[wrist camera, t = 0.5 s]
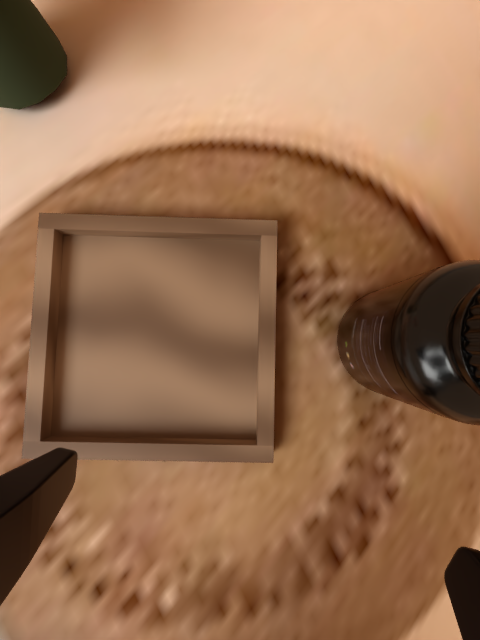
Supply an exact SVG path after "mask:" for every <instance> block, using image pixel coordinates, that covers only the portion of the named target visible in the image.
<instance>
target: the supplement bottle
mask: <svg viewBox="0 0 480 640" xmlns="http://www.w3.org/2000/svg"><path fill="white" fill-rule="evenodd" d="M337 344H338V351H339V355H340V358H341V361H342V363H343V365H344V367H345V368H346V370H347V371H348V373H349V374H350V375H351V376H352V377H353V378H354V379H355V380H356V381H357V382H358V383H360V384H361V385H363V386H364V387H366V388H368V389H370V390H372V391H375V392H377V393H380V394H382V395H385V396H388V397H391V398H393V399H396V400H399V401H402V402H404V403H407V404H410V405H413V406H415V407H418V408H421V409H423V410H426V411H429V412H432V413H434V414H437V415H440V416H443V417H446V418H449V419H452V420H455V421H458V422H462V423H467V424H472V425H480V260H467V261H460V262H455V263H452V264H448V265H445V266H441V267H439V268H436V269H433V270H431V271H428V272H425V273H423V274H420V275H417V276H415V277H412V278H409V279H407V280H404V281H401V282H399V283H396V284H393V285H391V286H388V287H385V288H383V289H380V290H377V291H375V292H372V293H370V294H368V295H366V296H364V297H362V298H360V299H359V300H357V301H356V302H355V303H354V304H353V305H352V306H351V307H350V308H349V309H348V310H347V312H346V313H345V315H344V316H343V318H342V321H341V323H340V326H339V330H338V336H337Z"/></svg>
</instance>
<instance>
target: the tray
mask: <svg viewBox="0 0 480 640" xmlns="http://www.w3.org/2000/svg"><path fill="white" fill-rule="evenodd" d="M276 276H277V220H248V219H217V218H185V217H154V216H123V215H92V214H60V213H39V222H38V236H37V250H36V264H35V278H34V292H33V307H32V321H31V335H30V349H29V363H28V377H27V391H26V405H25V420H24V434H23V448H22V458H25V459H35V458H37V457H39V456H41V455H43V454H45V453H48V452H50V451H52V450H54V449H56V448H59V447H63V448H67V449H71V450H75V451H76V452H77V454H78V458H77V459H83V460H140V461H198V462H255V463H273V456H274V396H275V336H276Z"/></svg>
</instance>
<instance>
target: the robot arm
mask: <svg viewBox="0 0 480 640" xmlns="http://www.w3.org/2000/svg"><path fill="white" fill-rule="evenodd" d="M77 458H78V454H77V452H76V451H75V450H71V449H67V448H63V447H59V448H56V449H54V450H52V451H50V452H48V453H45V454H43V455H41V456H39V457H37V458H35V459H33V460H31V461H29V462H27V463H25V464H23V465H21V466H19V467H17V468H15V469H13V470H11V471H9V472H7V473H5V474H3V475H1V476H0V606H1V604H2V603H3V601H4V600H5V598H6V597H7V596H8V594H9V593H10V591H11V590H12V588H13V587H14V585H15V584H16V583H17V581H18V580H19V578H20V577H21V575H22V574H23V572H24V571H25V569H26V568H27V566H28V565H29V563H30V561H31V560H32V558H33V556H34V555H35V553H36V551H37V549H38V548H39V546H40V544H41V542H42V541H43V539H44V537H45V535H46V534H47V532H48V530H49V528H50V527H51V525H52V523H53V521H54V520H55V518H56V516H57V514H58V513H59V511H60V509H61V507H62V506H63V504H64V502H65V500H66V499H67V497H68V495H69V493H70V492H71V490H72V488H73V485H74V482H75V477H76V468H77ZM444 578H445V584H446V587H447V590H448V594H449V597H450V600H451V603H452V606H453V610H454V613H455V616H456V619H457V622H458V626H459V629H460V632H461V635H462V638H463V640H480V551H479V550H476V549H472V548H468V547H460V548H458V550H457V551H456V553H455V554H454V556H453V558H452V559H451V561H450V563H449V565H448V566H447V568H446V570H445V575H444Z"/></svg>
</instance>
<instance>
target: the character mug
mask: <svg viewBox="0 0 480 640" xmlns="http://www.w3.org/2000/svg"><path fill="white" fill-rule="evenodd" d="M66 75H67V56H66V54H65V52H64V50H63V48H62V46H61V44H60V42H59V40H58V38H57V37H56V35H55V34H54V32H53V31H52V29H51V28H50V27H49V25H48V24H47V22H46V21H45V19H44V18H43V17H42V15H41V14H40V12H39V11H38V9H37V8H36V7H35V5H34V4H33V3H32V2H31V0H0V107H5V108H13V109H22V108H25V107H28V106H31V105H34V104H37V103H39V102H41V101H42V100H43V99H45V98H46V97H47V96H48V95H50V94H51V93H52V92H54V91H55V90H56V89H57V87H58V86H59V85H60V83H61V82H62V81H63V79H64V78H65V76H66Z"/></svg>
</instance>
